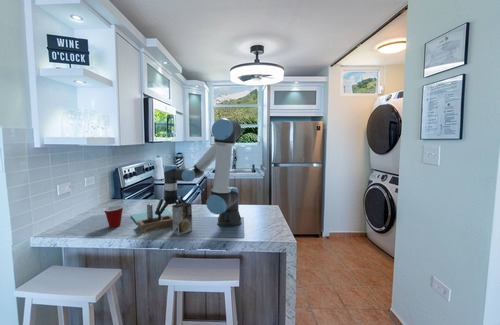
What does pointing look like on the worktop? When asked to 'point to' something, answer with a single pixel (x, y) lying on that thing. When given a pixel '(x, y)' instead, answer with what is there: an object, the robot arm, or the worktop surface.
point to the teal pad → (144, 215)
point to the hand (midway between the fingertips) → (171, 222)
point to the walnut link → (155, 223)
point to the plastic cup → (114, 215)
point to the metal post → (149, 213)
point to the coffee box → (182, 218)
